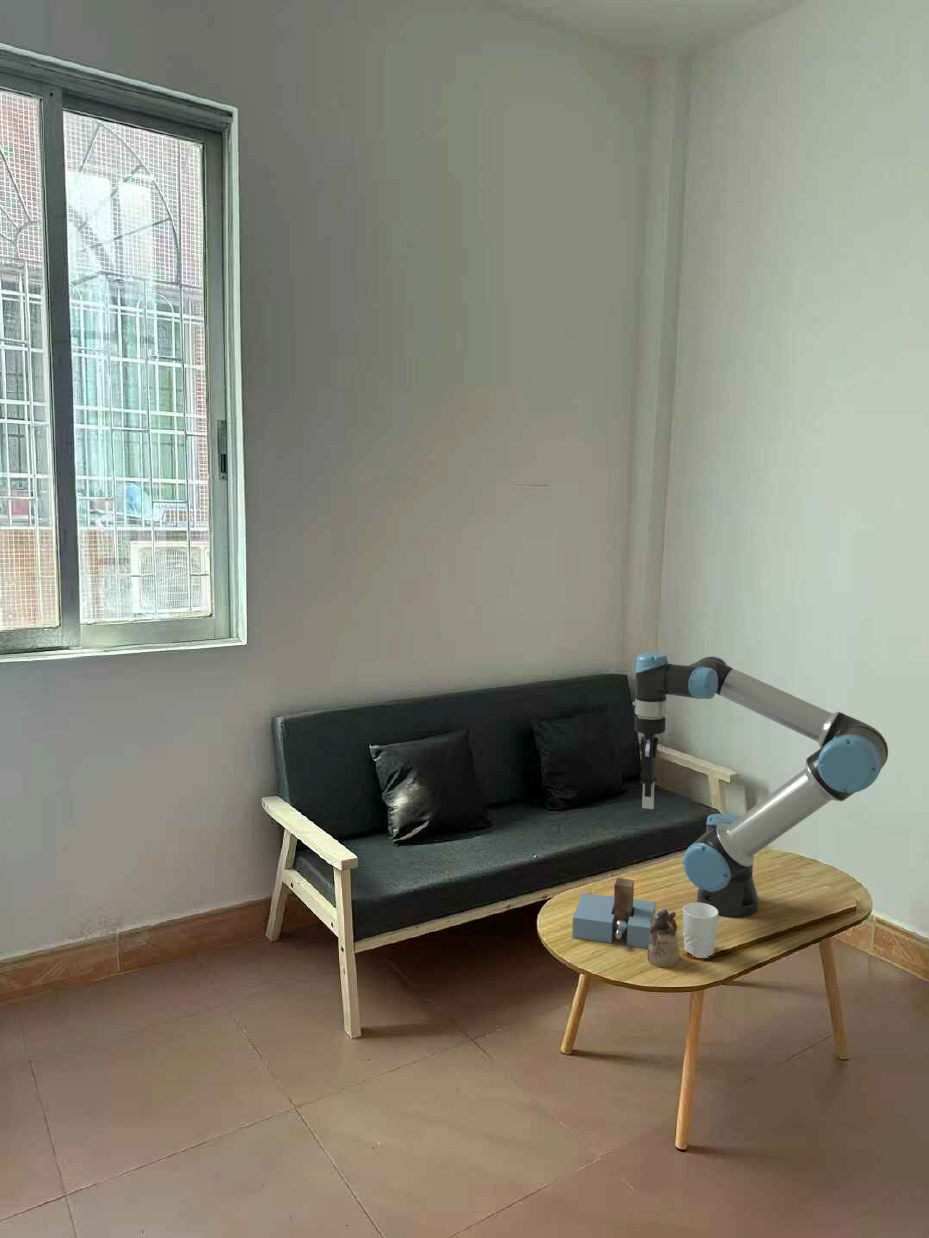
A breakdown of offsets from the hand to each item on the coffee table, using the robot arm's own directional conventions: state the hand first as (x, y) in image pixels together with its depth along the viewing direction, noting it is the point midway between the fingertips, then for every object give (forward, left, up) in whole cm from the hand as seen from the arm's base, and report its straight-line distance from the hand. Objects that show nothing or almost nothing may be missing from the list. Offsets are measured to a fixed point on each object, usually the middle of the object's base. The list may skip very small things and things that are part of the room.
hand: (647, 807), depth 223 cm
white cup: (-14, +19, -27) cm, 36 cm away
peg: (+4, +14, -26) cm, 30 cm away
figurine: (-6, +25, -27) cm, 37 cm away
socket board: (+6, +14, -26) cm, 30 cm away
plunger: (+4, +20, -25) cm, 32 cm away
